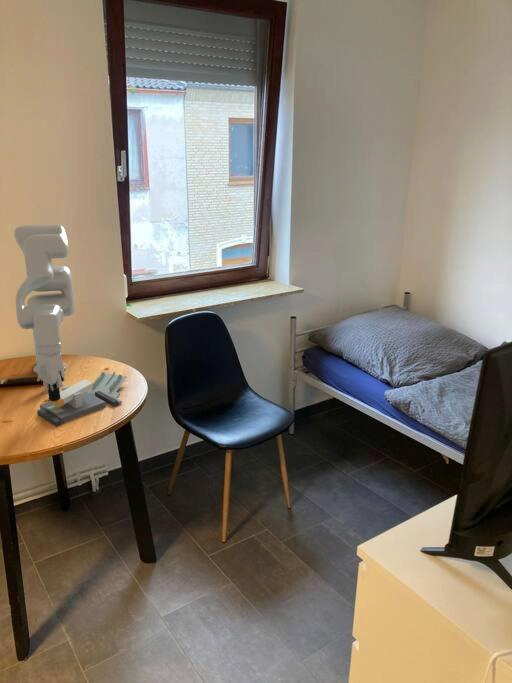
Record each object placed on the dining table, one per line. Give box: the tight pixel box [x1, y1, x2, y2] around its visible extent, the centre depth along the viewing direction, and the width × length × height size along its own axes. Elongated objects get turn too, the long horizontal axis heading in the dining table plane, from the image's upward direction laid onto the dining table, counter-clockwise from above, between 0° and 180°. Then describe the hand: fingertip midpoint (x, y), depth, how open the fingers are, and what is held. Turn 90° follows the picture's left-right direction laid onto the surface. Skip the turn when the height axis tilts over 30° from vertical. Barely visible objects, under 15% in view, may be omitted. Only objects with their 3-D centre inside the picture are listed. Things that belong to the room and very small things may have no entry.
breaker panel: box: [39, 385, 107, 425], centre depth 188 cm, size 14×17×7 cm
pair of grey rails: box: [37, 391, 123, 428], centre depth 188 cm, size 13×25×2 cm, turn 138°
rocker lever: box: [49, 378, 94, 408], centre depth 187 cm, size 6×14×2 cm, turn 138°
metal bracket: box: [87, 371, 127, 399], centre depth 204 cm, size 14×6×15 cm
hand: (54, 399), depth 181 cm, fingers closed
